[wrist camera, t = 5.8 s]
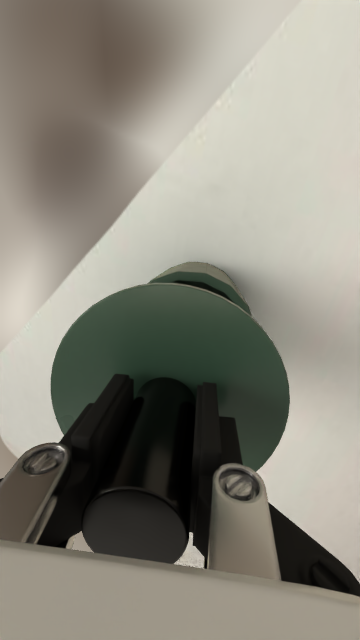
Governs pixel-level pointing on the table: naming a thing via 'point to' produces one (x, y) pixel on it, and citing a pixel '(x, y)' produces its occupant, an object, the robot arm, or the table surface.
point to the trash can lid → (165, 405)
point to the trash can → (204, 281)
